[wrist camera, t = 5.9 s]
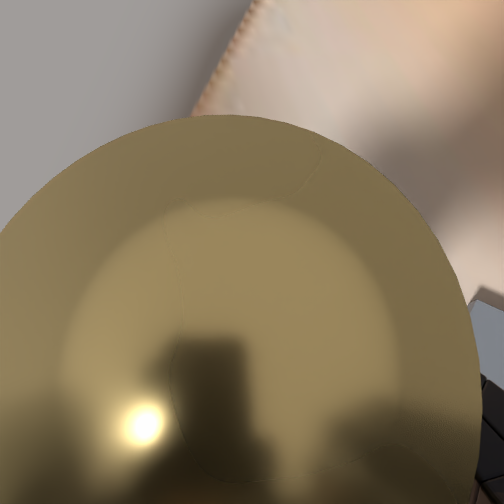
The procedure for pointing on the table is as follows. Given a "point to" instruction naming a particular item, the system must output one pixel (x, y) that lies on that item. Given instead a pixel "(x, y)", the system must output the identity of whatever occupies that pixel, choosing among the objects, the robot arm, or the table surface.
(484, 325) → the grey square base plate
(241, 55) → the table surface
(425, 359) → the brass shaft
